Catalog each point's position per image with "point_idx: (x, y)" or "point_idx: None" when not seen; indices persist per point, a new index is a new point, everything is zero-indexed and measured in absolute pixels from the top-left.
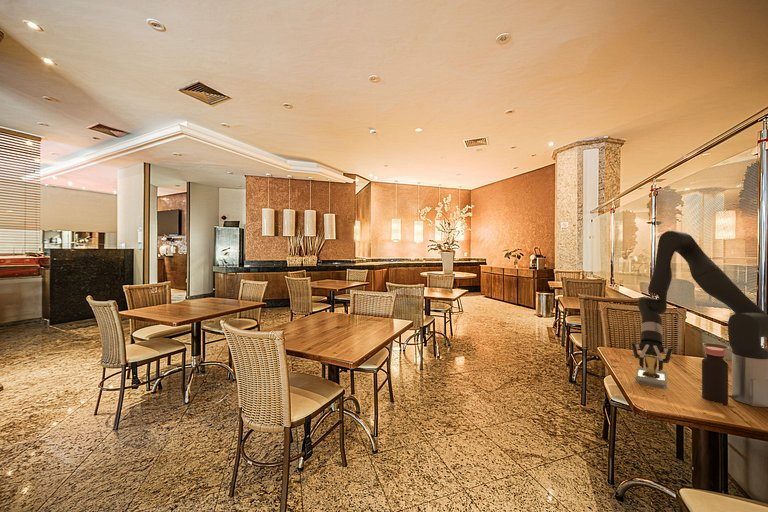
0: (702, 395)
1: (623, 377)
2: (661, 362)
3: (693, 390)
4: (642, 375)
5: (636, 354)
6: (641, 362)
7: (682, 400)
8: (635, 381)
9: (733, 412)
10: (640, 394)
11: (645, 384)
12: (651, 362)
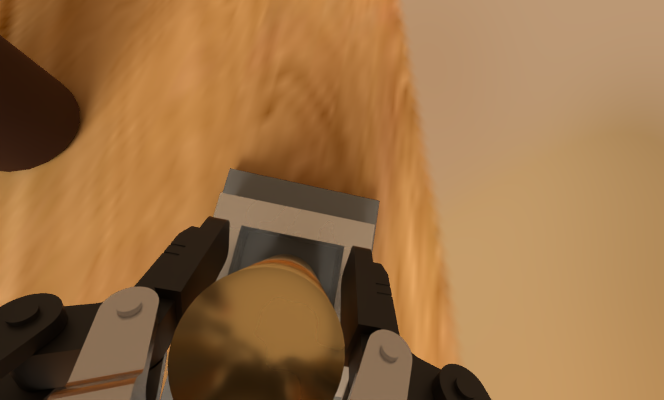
0: (62, 114)
1: (425, 315)
2: (154, 283)
3: (55, 269)
4: (344, 244)
5: (458, 375)
6: (373, 269)
7: (196, 80)
8: (376, 221)
9: (11, 22)
10: (366, 81)
11: (330, 193)
12: (277, 262)
